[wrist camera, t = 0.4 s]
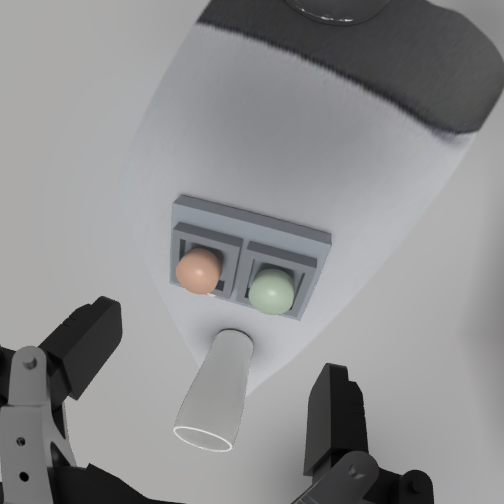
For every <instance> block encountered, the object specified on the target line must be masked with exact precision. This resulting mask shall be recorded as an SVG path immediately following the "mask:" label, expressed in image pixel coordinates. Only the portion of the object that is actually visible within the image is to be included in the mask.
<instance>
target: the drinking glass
mask: <svg viewBox="0 0 504 504" xmlns="http://www.w3.org/2000/svg"><path fill="white" fill-rule="evenodd" d="M252 353H253V343H252V341H251V339H250V338H249V337H248V336H247V335H245V334H243V333H241V332H239V331H235V330H224V331H221V332H219V333H218V334H217V335H216V337H215V339H214V341H213V344H212V346H211V348H210V350H209V352H208V354H207V356H206V358H205V360H204V362H203V364H202V366H201V368H200V370H199V372H198V374H197V376H196V378H195V379H194V381H193V383H192V385H191V387H190V389H189V391H188V393H187V395H186V397H185V399H184V401H183V403H182V406H181V408H180V411H179V413H178V416H177V419H176V422H175V426H174V428H173V431H174V433H175V434H176V435H177V436H178V437H179V438H180V439H182V440H183V441H185V442H187V443H189V444H191V445H194V446H196V447H199V448H203V449H206V450H211V451H218V452H225V451H229V450H231V449H232V448H233V445H234V442H235V439H236V436H237V433H238V430H239V425H240V422H241V417H242V412H243V406H244V399H245V393H246V387H247V380H248V374H249V368H250V362H251V357H252Z"/></svg>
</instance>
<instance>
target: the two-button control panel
mask: <svg viewBox="0 0 504 504" xmlns="http://www.w3.org/2000/svg"><path fill="white" fill-rule="evenodd" d="M331 246H332V242H331V234H328V233H324V232H321V231H317V230H314V229H310V228H307V227H303V226H300V225H296V224H292V223H289V222H285V221H281V220H278V219H274V218H270V217H266V216H263V215H259V214H255V213H251V212H247V211H244V210H240V209H236V208H232V207H228V206H224V205H220V204H216V203H212V202H208V201H204V200H200V199H196V198H191V197H187V196H183V195H181V196H180V197H179V198H177V199H176V200H175V201H174V202H173V206H172V224H171V248H170V284H173V285H176V286H180V287H183V286H182V285H181V284H180V283H179V281H178V279H177V277H176V267H177V265H178V263H179V262H180V261H181V259H182V258H183V256H184V255H185V253H186V252H187V251H189V250H191V249H194V248H202V249H206V250H208V251H210V252H212V253H213V254H214V255H215V256H216V257H217V258H218V259H219V260H220V262H221V265H222V274H221V276H220V278H219V281H218V283H217V285H216V287H215V289H214V290H213V291H212V292H210V293H207V294H206V295H208V296H210V297H216V298H219V299H222V300H226V301H229V302H233V303H236V304H240V305H243V306H247V307H250V308H254V307H253V306H252V304H251V303H250V301H249V291H250V288H251V285H252V281H253V279H254V277H255V275H256V274H257V273H258V272H260V271H262V270H265V269H278V270H281V271H284V272H285V273H287V274H288V275H289V276H290V277H291V278H292V279H293V281H294V284H295V291H294V298H293V304H292V306H291V308H290V309H289V310H288V311H286V312H284V313H282V314H278V315H280V316H284V317H288V318H291V319H295V320H299V321H300V320H301V318H302V316H303V313H304V311H305V309H306V307H307V304H308V302H309V300H310V297H311V295H312V293H313V290H314V288H315V285H316V283H317V281H318V278H319V276H320V273H321V271H322V268H323V266H324V263H325V261H326V258H327V256H328V253H329V251H330V248H331ZM183 288H184V287H183ZM254 309H255V308H254Z"/></svg>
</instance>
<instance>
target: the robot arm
mask: <svg viewBox="0 0 504 504" xmlns="http://www.w3.org/2000/svg"><path fill="white" fill-rule="evenodd" d="M285 1H286V2H287V3H288V4H289V6H290V7H292V8H293V9H294V10H296V11H297V12H298V13H300V14H301V15H303V16H305V17H307V18H309V19H311V20H314V21H317V22H320V23H324V24H330V25H345V26H347V25H353V24H359V23H362V22H364V21H367V20H369V19H371V18H372V17H374V16H375V15H377V14H378V13H379V12H380V11H381V10H382V9H383V8H384V7H385V6H386V5H387V4H388V3H389V2H390V1H391V0H285ZM121 338H122V319H121V305H120V303H119V302H117V301H115V300H112V299H110V298H107V297H105V296H101V297H99V298H98V299H97V300H96V301H95V302H94V303H93V304H92V305H90V304H86V305H84V306H82V307H80V308H77V309H76V310H75V311H74V312H73V313H72V314H71V315H70V316H69V318H67V319H66V320H65V321H63V323H62V324H60V325H59V326H58V327H57V328H56V329H55V330H54V331H53V332H52V333H51V334H50V335H49V336H48V337H47V338H46V339H45V340H44V341H43V342H42V343H41V344H40V345H39V346H38V347H35V346H26V347H23V348H21V349H19V350H18V351H14V350H10V349H6V348H3V347H1V346H0V458H1V459H0V460H1V473H2V482H0V504H184V503H175V502H166V501H159V500H152V499H149V498H146V497H145V496H143V495H142V494H140V493H139V492H137V491H136V490H134V489H133V488H131V487H130V486H129V485H127V484H126V483H125V482H123V481H122V480H121V479H119V478H118V477H116V476H114V475H112V474H110V473H108V472H105V471H104V470H102V469H100V468H98V467H96V466H94V465H92V464H90V463H89V465H88V466H87V468H82V467H77V465H76V461H75V458H74V455H73V452H72V450H71V447H70V443H69V436H68V429H67V421H66V412H65V403H64V400H65V399H66V397H67V396H70V397H71V398H73V399H75V400H78V399H79V397H80V396H81V395H82V393H83V392H84V390H85V389H86V388H87V386H88V385H89V384H90V382H91V381H92V380H93V378H94V377H95V375H96V374H97V373H98V371H99V370H100V369H101V367H102V366H103V365H104V363H105V362H106V361H107V359H108V358H109V357H110V356H111V354H112V353H113V352H114V350H115V349H116V348H117V346H118V345H119V343H120V341H121ZM363 405H364V402H363V394H362V392H361V390H360V388H359V387H358V385H357V383H356V382H352V381H349V380H348V370H347V367H346V366H341V365H336V364H331V363H326V364H325V366H324V367H323V369H322V371H321V373H320V375H319V377H318V379H317V381H316V382H315V384H314V386H313V388H312V390H311V393H310V396H309V402H308V419H307V434H306V450H305V463H304V473H303V475H304V476H312V477H313V479H312V485H311V486H310V487H309V488H308V489H307V490H305V492H303V493H302V494H301V495H300V496H299V497H298V498H297V499H295V500H294V501H293V502H292V503H291V504H434V496H433V485H432V481H431V479H430V477H429V476H428V475H427V474H426V473H424V472H422V471H419V470H411V471H408V472H407V473H405V474H404V475H399V474H396V473H393V472H390V471H387V470H384V469H382V468H380V467H379V466H378V463H377V461H376V460H375V459H374V458H373V457H372V456H371V455H370V454H369V451H368V441H367V430H366V421H365V417H364V415H365V411H364V407H363Z"/></svg>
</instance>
